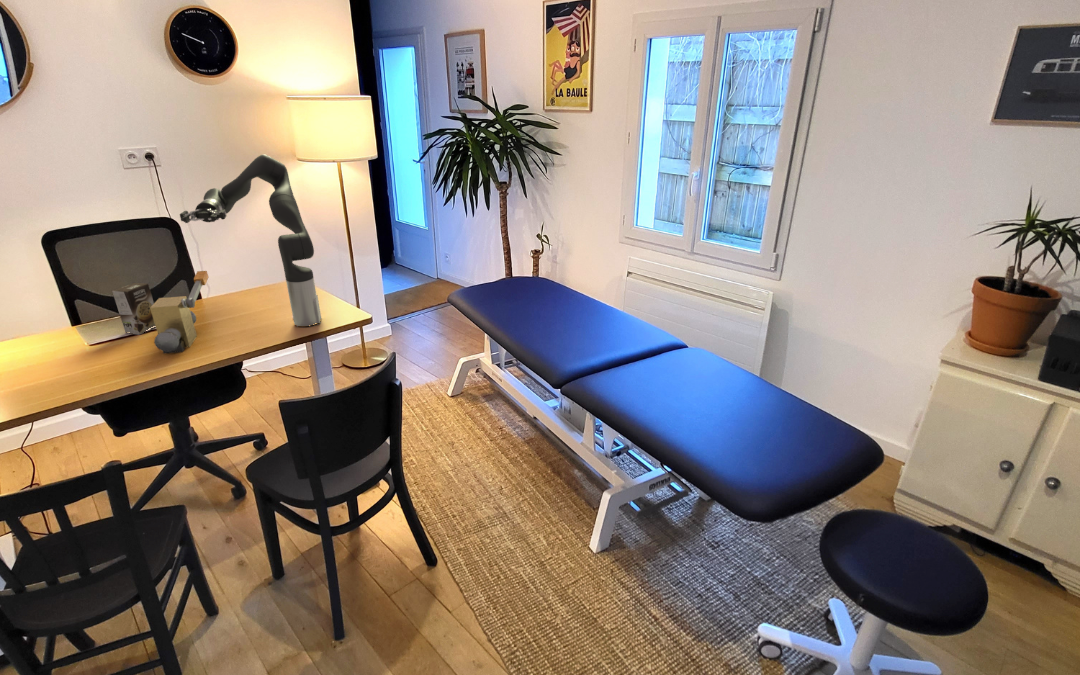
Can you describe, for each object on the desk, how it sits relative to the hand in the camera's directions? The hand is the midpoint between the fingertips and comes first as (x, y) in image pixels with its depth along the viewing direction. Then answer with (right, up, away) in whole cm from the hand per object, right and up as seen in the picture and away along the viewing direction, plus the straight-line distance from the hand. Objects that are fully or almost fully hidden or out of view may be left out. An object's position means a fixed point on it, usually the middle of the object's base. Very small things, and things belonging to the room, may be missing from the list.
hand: (199, 219), depth 197 cm
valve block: (-1, -44, -9) cm, 45 cm away
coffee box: (-21, -39, +1) cm, 44 cm away
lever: (+6, -32, -14) cm, 35 cm away
